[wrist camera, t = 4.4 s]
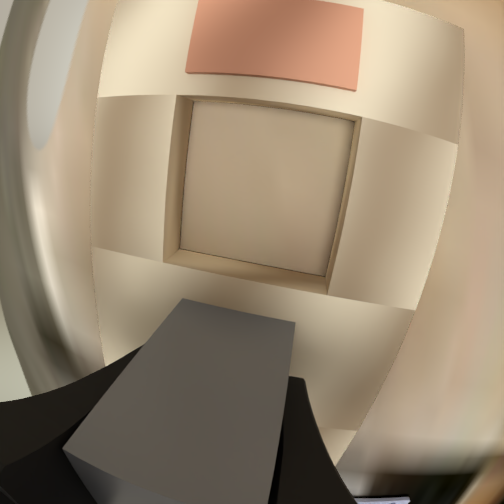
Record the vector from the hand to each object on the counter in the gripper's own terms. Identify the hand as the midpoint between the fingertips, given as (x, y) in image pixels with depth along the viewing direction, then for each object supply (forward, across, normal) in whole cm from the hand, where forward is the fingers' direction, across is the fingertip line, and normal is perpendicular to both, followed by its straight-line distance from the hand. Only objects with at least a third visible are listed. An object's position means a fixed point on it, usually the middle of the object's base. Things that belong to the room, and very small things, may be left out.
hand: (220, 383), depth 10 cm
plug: (+2, 0, 0) cm, 2 cm away
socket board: (+3, 0, 0) cm, 3 cm away
